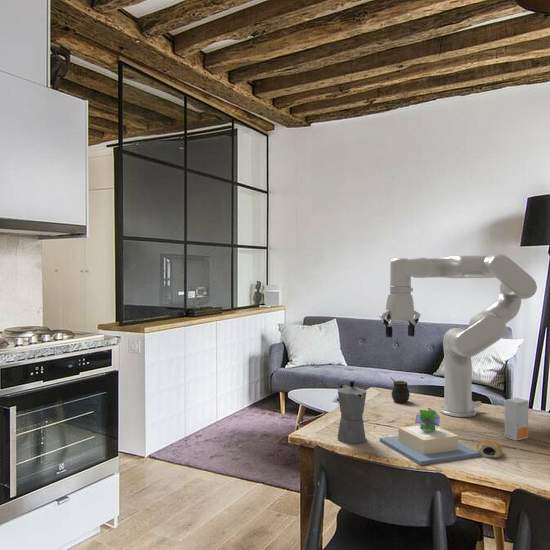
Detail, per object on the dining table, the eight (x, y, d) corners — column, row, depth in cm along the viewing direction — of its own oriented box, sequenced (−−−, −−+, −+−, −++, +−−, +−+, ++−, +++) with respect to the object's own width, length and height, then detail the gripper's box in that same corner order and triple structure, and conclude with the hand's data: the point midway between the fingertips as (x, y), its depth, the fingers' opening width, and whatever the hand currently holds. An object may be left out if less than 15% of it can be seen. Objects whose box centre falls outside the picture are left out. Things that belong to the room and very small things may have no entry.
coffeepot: (375, 444, 145) (375, 384, 145) (346, 447, 143) (346, 386, 143) (353, 429, 160) (353, 374, 160) (326, 431, 157) (327, 376, 157)
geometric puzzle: (438, 430, 136) (439, 403, 141) (413, 427, 138) (415, 401, 143) (439, 439, 141) (440, 413, 146) (415, 436, 144) (417, 410, 148)
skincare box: (516, 441, 149) (516, 402, 149) (504, 437, 153) (504, 399, 153) (528, 438, 152) (529, 400, 152) (516, 434, 155) (516, 397, 156)
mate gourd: (412, 403, 193) (411, 378, 193) (393, 404, 192) (393, 379, 192) (406, 399, 200) (406, 375, 200) (388, 399, 200) (388, 375, 200)
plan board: (433, 434, 155) (433, 418, 155) (479, 456, 136) (479, 438, 136) (379, 441, 148) (379, 424, 148) (420, 465, 129) (420, 446, 129)
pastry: (477, 446, 145) (477, 433, 145) (501, 449, 142) (502, 436, 142) (476, 456, 136) (476, 443, 136) (502, 460, 134) (503, 447, 134)
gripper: (413, 290, 188) (413, 334, 187) (375, 290, 182) (374, 336, 182) (425, 291, 181) (425, 337, 180) (386, 291, 175) (385, 338, 175)
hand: (400, 336), depth 181 cm, fingers open, 9 cm apart
